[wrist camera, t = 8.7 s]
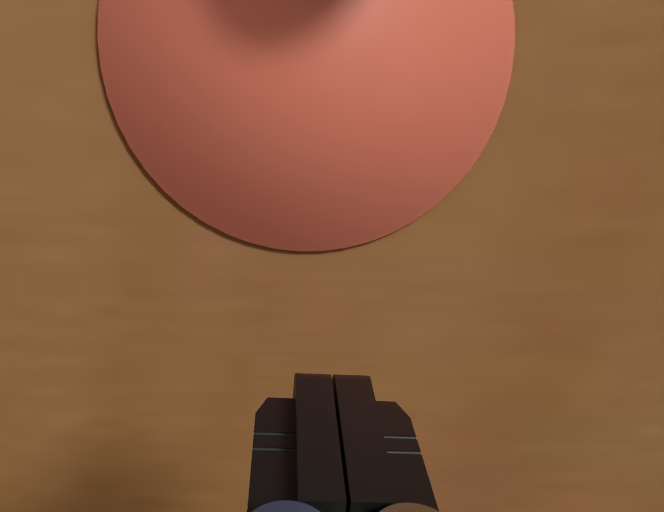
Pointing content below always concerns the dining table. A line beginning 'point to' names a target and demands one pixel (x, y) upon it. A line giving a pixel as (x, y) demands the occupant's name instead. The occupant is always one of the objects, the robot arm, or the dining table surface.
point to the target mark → (306, 108)
